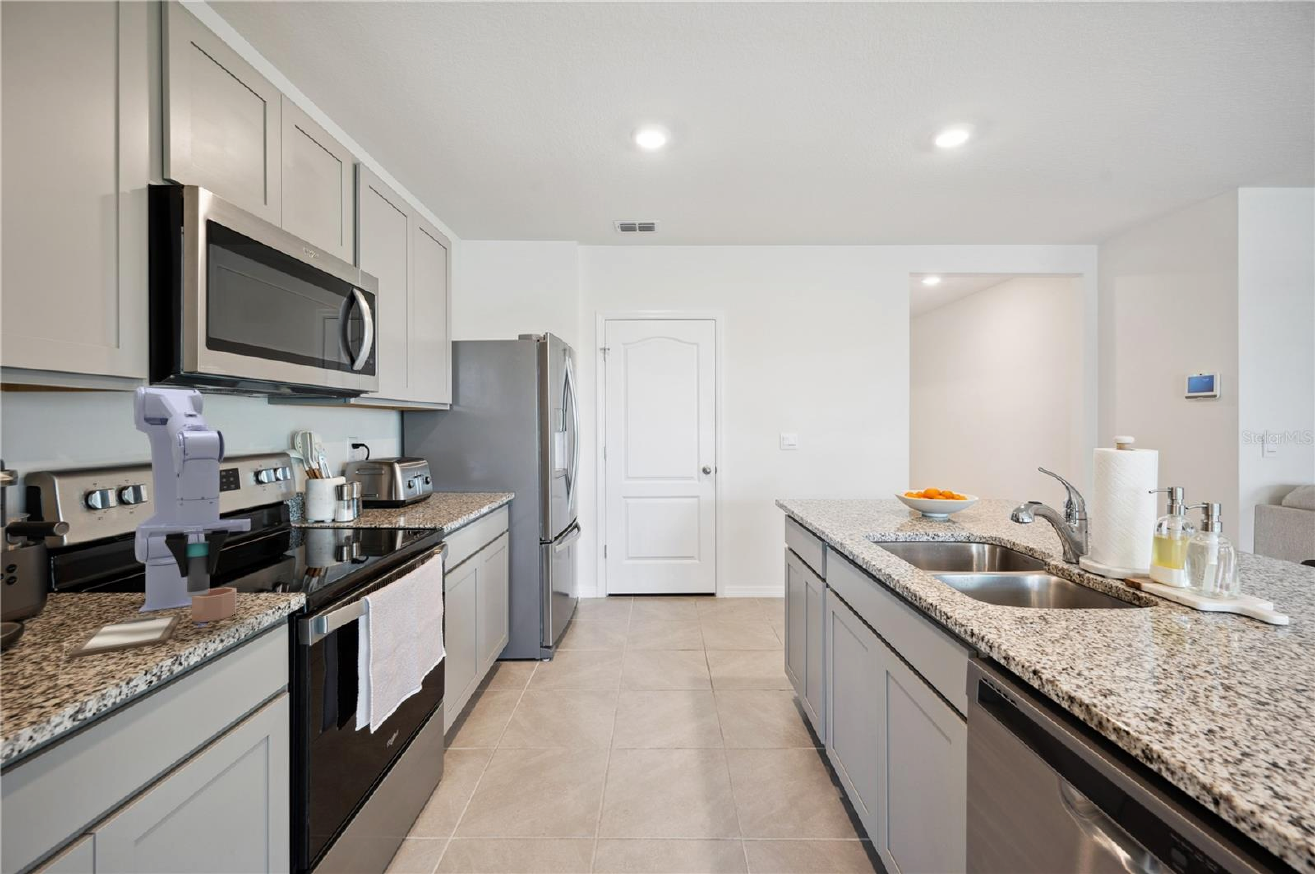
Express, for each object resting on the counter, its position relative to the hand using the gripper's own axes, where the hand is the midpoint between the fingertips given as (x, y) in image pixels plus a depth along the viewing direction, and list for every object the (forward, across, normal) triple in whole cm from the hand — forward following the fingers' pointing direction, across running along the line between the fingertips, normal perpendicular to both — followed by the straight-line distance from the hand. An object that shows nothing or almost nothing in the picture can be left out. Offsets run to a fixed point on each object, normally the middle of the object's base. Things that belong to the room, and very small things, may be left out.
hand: (198, 574), depth 93 cm
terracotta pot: (+10, +2, +7) cm, 12 cm away
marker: (+3, 0, 0) cm, 3 cm away
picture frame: (+10, -9, +2) cm, 13 cm away
